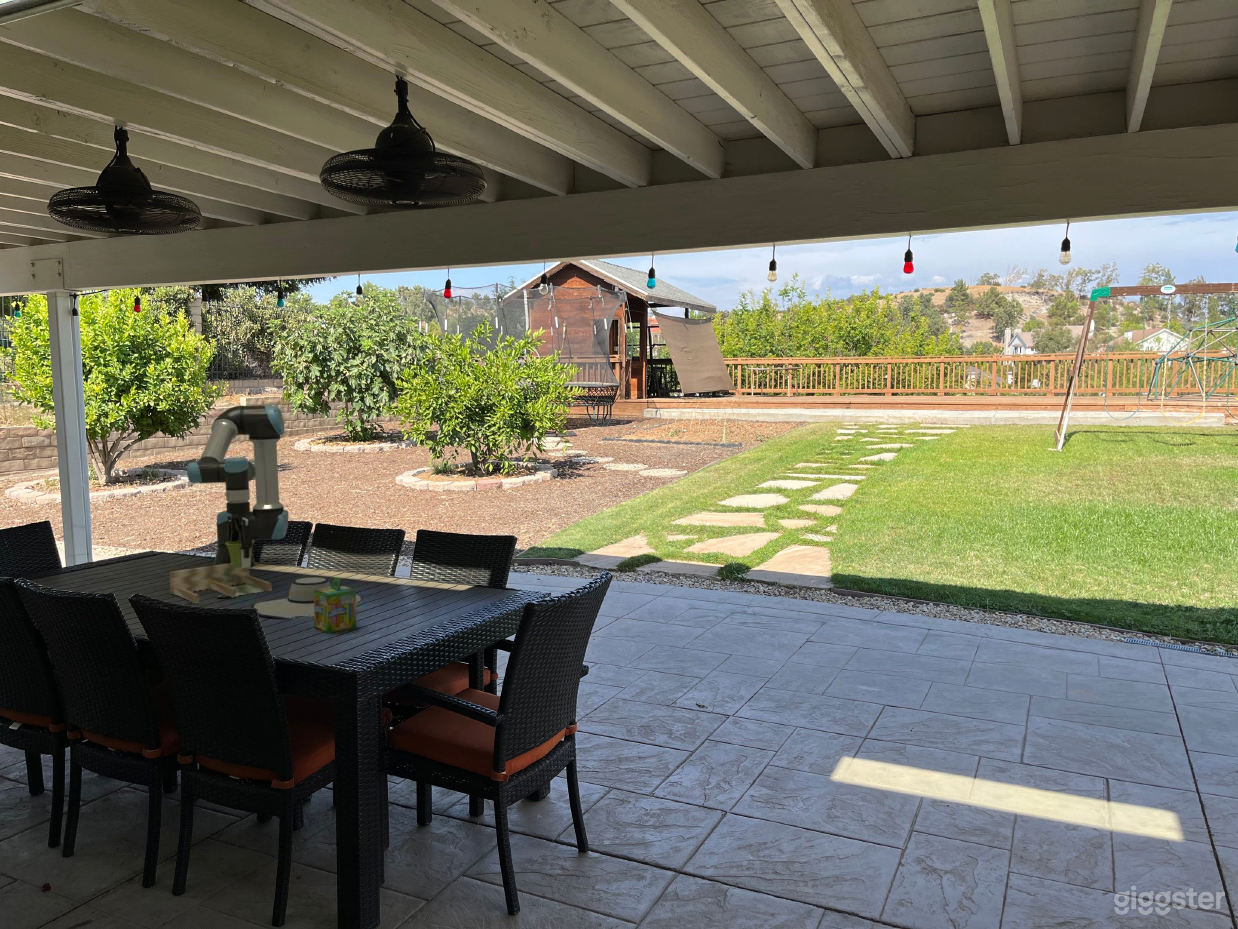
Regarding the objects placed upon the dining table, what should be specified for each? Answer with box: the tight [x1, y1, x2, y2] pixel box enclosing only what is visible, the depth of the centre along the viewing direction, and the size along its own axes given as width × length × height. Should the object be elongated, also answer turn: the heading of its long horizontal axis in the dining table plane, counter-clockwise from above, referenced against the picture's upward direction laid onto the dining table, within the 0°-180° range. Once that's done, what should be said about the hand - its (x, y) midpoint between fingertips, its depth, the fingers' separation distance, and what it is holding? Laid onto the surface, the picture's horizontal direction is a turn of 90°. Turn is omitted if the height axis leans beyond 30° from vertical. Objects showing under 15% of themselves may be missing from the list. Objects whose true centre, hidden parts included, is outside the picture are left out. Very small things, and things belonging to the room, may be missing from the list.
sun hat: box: [250, 576, 361, 620], centre depth 283 cm, size 36×36×9 cm
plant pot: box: [225, 540, 256, 568], centre depth 303 cm, size 9×9×9 cm
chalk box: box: [313, 576, 357, 634], centre depth 254 cm, size 9×9×15 cm
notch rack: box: [169, 563, 273, 604], centre depth 301 cm, size 27×21×8 cm
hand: (240, 565), depth 303 cm, fingers closed on plant pot, 8 cm apart
